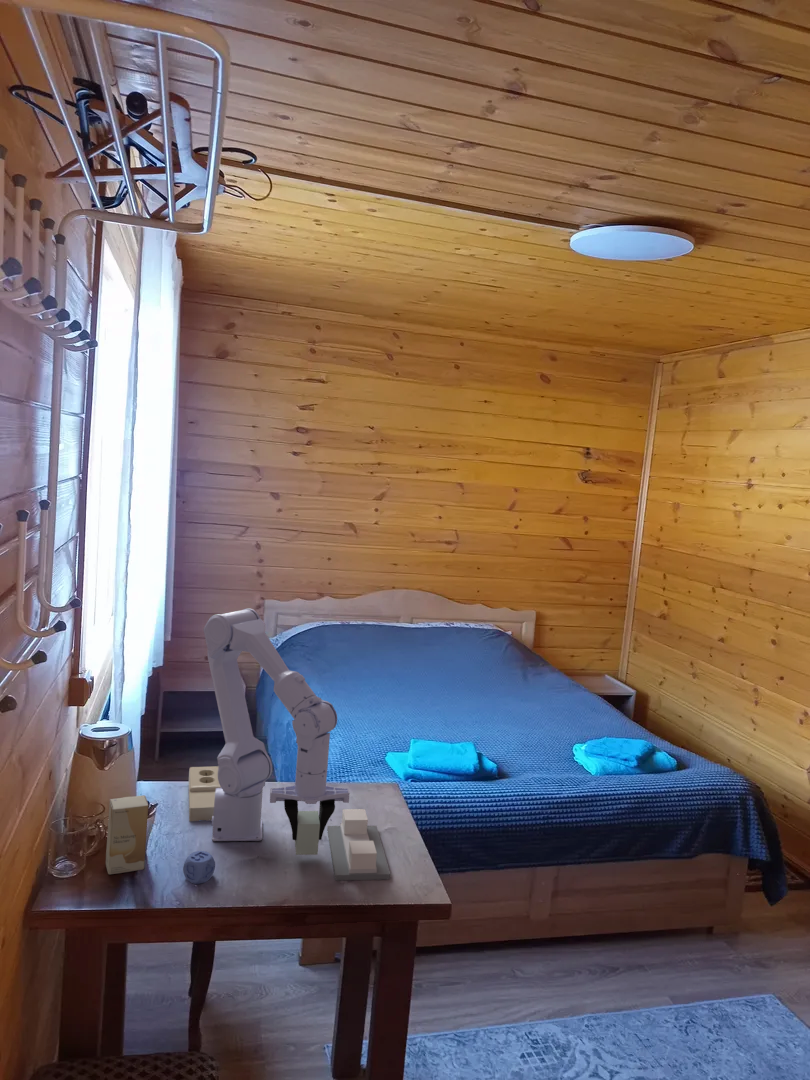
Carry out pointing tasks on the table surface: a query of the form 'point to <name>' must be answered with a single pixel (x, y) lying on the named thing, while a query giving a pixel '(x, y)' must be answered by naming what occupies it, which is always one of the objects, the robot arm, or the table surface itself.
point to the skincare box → (126, 834)
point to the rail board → (342, 860)
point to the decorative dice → (199, 867)
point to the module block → (307, 833)
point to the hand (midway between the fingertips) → (306, 837)
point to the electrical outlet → (202, 792)
